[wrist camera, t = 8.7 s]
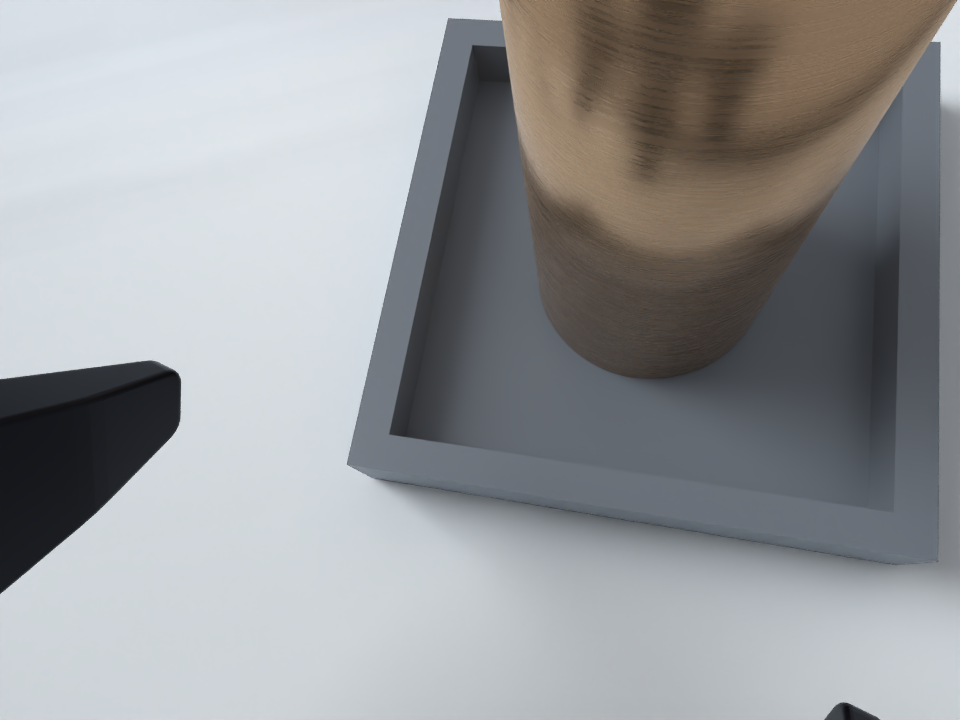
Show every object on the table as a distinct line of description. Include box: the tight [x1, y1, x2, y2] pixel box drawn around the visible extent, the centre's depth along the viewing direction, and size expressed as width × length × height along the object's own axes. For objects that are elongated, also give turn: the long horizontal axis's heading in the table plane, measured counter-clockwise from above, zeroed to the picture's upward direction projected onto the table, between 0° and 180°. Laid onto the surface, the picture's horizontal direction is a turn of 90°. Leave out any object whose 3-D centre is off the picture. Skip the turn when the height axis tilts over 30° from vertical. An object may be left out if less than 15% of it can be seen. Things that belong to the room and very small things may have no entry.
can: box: [499, 0, 957, 379], centre depth 12 cm, size 5×5×13 cm
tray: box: [347, 18, 940, 565], centre depth 18 cm, size 12×12×2 cm
